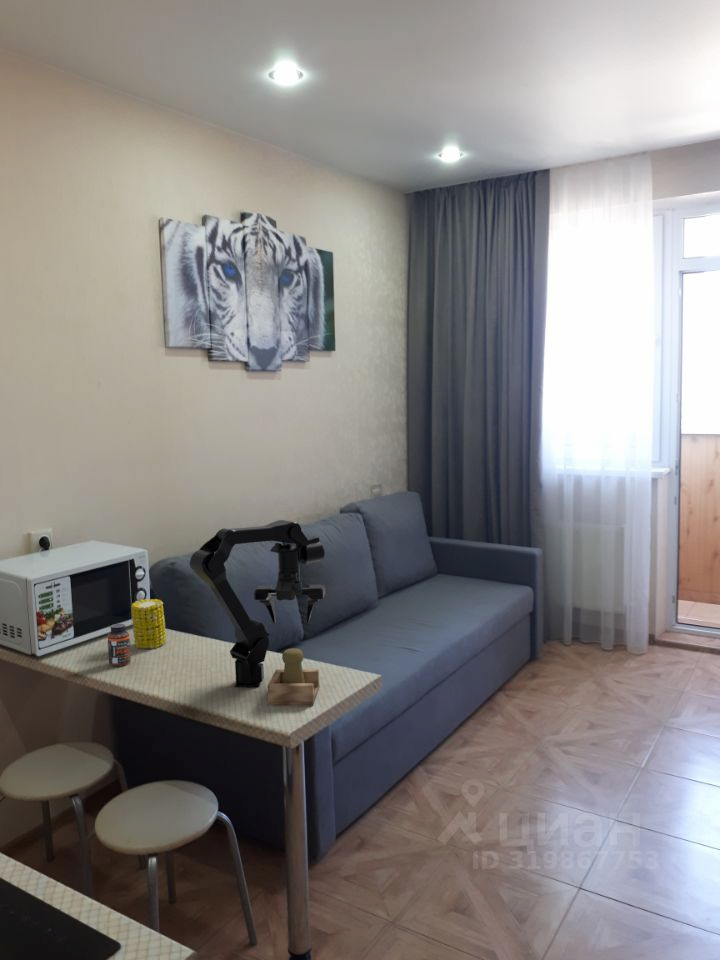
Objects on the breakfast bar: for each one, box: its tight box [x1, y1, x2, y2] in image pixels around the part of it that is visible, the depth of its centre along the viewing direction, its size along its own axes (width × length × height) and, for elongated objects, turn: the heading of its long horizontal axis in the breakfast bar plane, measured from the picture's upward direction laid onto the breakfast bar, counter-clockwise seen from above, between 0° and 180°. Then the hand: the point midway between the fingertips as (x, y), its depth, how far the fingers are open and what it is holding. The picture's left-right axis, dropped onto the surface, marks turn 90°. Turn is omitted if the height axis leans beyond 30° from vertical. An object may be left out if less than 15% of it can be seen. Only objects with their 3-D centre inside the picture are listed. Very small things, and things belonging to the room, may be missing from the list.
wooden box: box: [267, 669, 321, 707], centre depth 185 cm, size 11×12×5 cm
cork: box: [281, 647, 305, 683], centre depth 185 cm, size 6×6×11 cm
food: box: [130, 598, 167, 649], centre depth 229 cm, size 15×12×10 cm
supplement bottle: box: [107, 623, 132, 667], centre depth 213 cm, size 6×6×11 cm
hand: (291, 623), depth 203 cm, fingers open, 9 cm apart
